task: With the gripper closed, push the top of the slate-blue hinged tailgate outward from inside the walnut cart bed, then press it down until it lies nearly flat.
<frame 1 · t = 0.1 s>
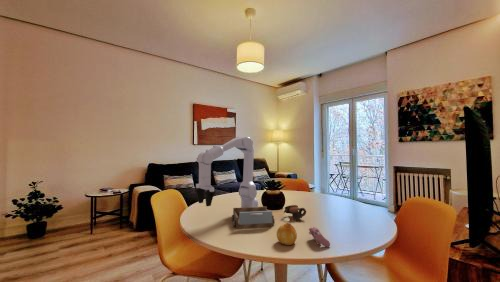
hand: (204, 204, 114), 10 cm above the table, tool pointing down, fingers open, 7 cm apart
cart bed: (252, 222, 118), on the table
tailgate: (256, 217, 109), point 5 cm above the table, hinge at 0.0°
pink animal figurine: (318, 243, 93), on the table
fruit: (286, 243, 93), on the table
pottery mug: (295, 219, 125), on the table
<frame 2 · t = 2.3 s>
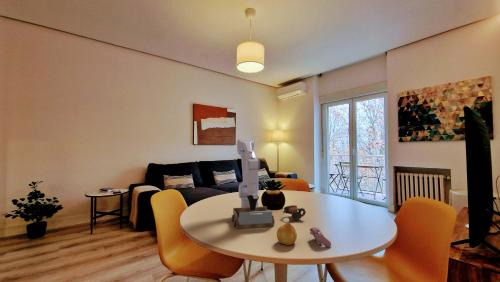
hand: (252, 210, 117), 6 cm above the table, tool pointing down, fingers closed
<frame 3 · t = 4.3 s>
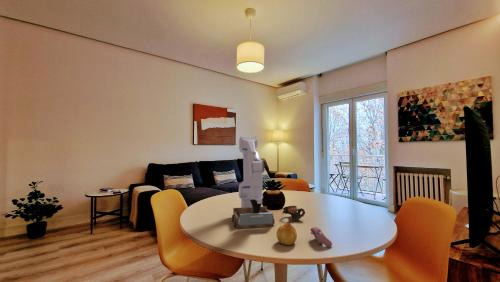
hand: (256, 215, 109), 6 cm above the table, tool pointing down, fingers closed, pressing on tailgate
tailgate: (256, 219, 109), point 5 cm above the table, hinge at 17.0°, touching gripper
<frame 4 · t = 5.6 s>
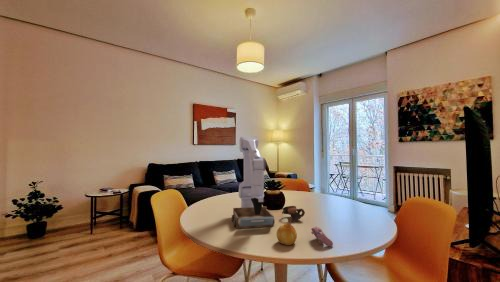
hand: (257, 214, 107), 7 cm above the table, tool pointing down, fingers closed
tailgate: (256, 222, 108), point 3 cm above the table, hinge at 43.3°
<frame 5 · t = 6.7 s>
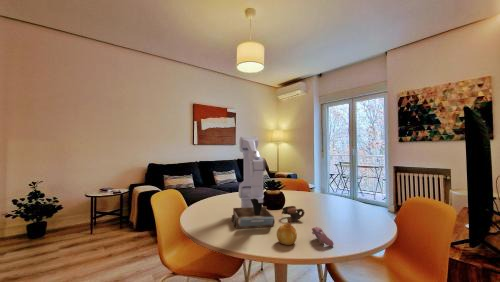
hand: (257, 215, 107), 7 cm above the table, tool pointing down, fingers closed
tailgate: (256, 222, 108), point 3 cm above the table, hinge at 43.6°
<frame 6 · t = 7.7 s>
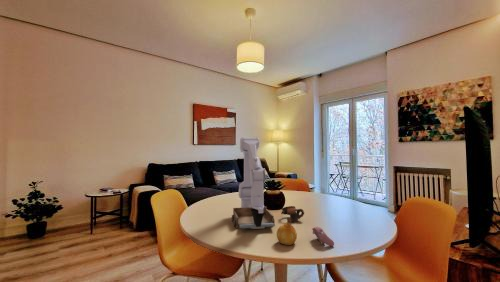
hand: (257, 225, 106), 2 cm above the table, tool pointing down, fingers closed on tailgate, 2 cm apart
tailgate: (256, 226, 107), point 2 cm above the table, hinge at 76.3°, touching gripper
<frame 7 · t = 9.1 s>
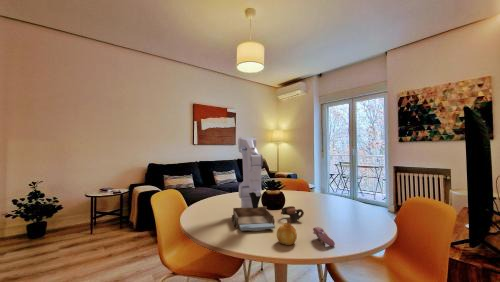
hand: (255, 208, 112), 9 cm above the table, tool pointing down, fingers closed
tailgate: (256, 227, 107), point 1 cm above the table, hinge at 87.5°
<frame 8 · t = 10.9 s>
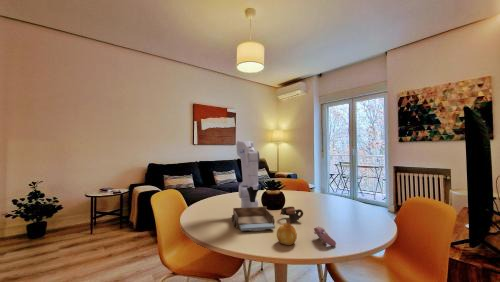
hand: (252, 202, 118), 10 cm above the table, tool pointing down, fingers closed
at the end: tailgate at +88° (first picture: +0°) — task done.
